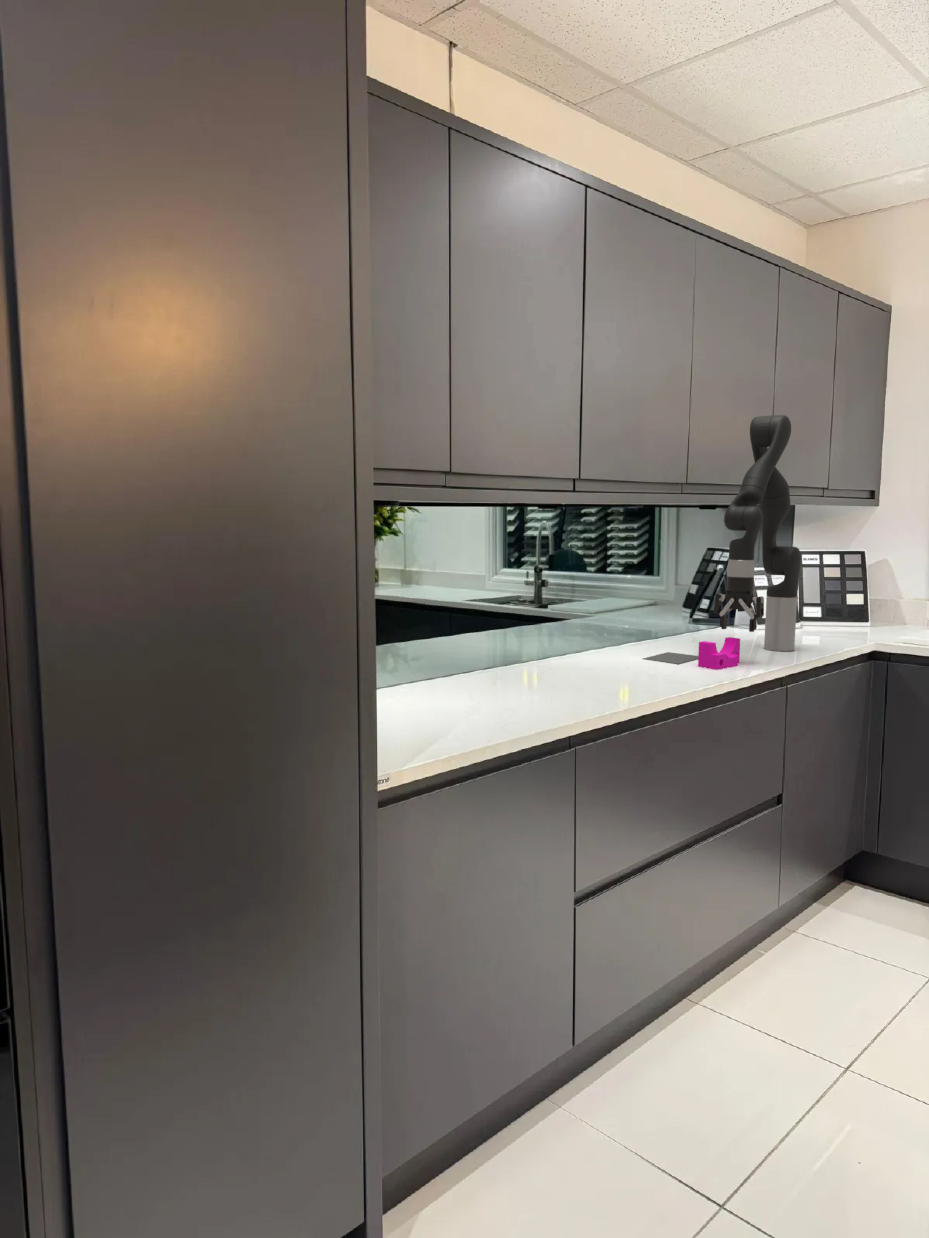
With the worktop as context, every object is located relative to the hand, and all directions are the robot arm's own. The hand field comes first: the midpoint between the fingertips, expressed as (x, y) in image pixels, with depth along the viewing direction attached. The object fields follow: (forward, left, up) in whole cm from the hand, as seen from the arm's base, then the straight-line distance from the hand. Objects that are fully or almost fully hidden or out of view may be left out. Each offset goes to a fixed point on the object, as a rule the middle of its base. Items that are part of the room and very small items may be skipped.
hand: (737, 630), depth 255 cm
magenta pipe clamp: (+8, -1, -10) cm, 13 cm away
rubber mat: (+9, -16, -10) cm, 21 cm away
